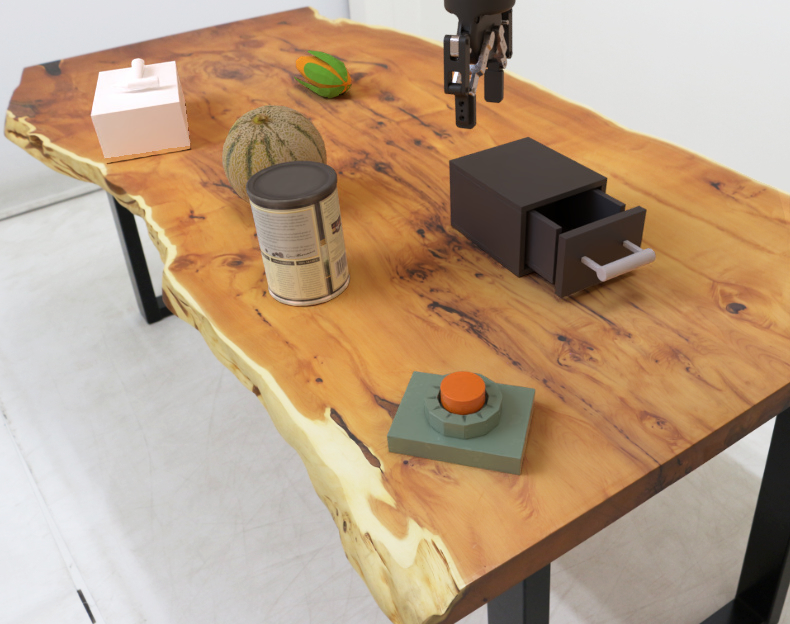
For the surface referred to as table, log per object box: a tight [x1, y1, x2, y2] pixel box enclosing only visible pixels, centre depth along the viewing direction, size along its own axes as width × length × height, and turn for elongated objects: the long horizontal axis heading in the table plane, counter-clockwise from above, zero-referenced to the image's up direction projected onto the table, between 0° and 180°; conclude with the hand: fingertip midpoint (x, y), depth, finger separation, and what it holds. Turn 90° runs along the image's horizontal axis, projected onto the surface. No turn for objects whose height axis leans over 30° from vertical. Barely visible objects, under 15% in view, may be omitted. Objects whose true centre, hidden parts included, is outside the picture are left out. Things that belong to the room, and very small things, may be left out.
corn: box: [293, 49, 353, 99], centre depth 144 cm, size 7×8×20 cm
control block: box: [386, 370, 537, 476], centre depth 66 cm, size 12×9×4 cm
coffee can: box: [246, 161, 351, 307], centre depth 84 cm, size 10×10×14 cm
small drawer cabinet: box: [448, 136, 608, 278], centre depth 91 cm, size 16×13×10 cm
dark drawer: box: [524, 188, 657, 299], centre depth 84 cm, size 19×11×8 cm, turn 28°
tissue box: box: [90, 57, 191, 159], centre depth 131 cm, size 14×25×11 cm, turn 16°
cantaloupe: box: [221, 104, 328, 205], centre depth 102 cm, size 15×15×15 cm
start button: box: [440, 370, 485, 415], centre depth 64 cm, size 4×4×2 cm
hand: (480, 114), depth 82 cm, fingers open, 8 cm apart
